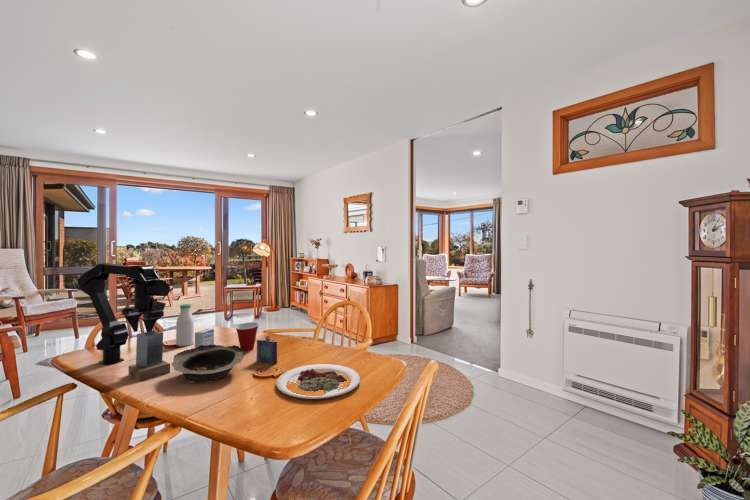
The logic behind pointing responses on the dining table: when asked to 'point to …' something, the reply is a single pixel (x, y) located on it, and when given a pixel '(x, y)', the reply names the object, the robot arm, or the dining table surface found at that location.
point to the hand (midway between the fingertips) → (142, 332)
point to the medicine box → (204, 337)
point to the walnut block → (149, 371)
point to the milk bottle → (185, 326)
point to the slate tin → (149, 349)
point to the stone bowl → (207, 362)
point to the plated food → (318, 380)
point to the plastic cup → (247, 335)
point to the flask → (267, 350)
